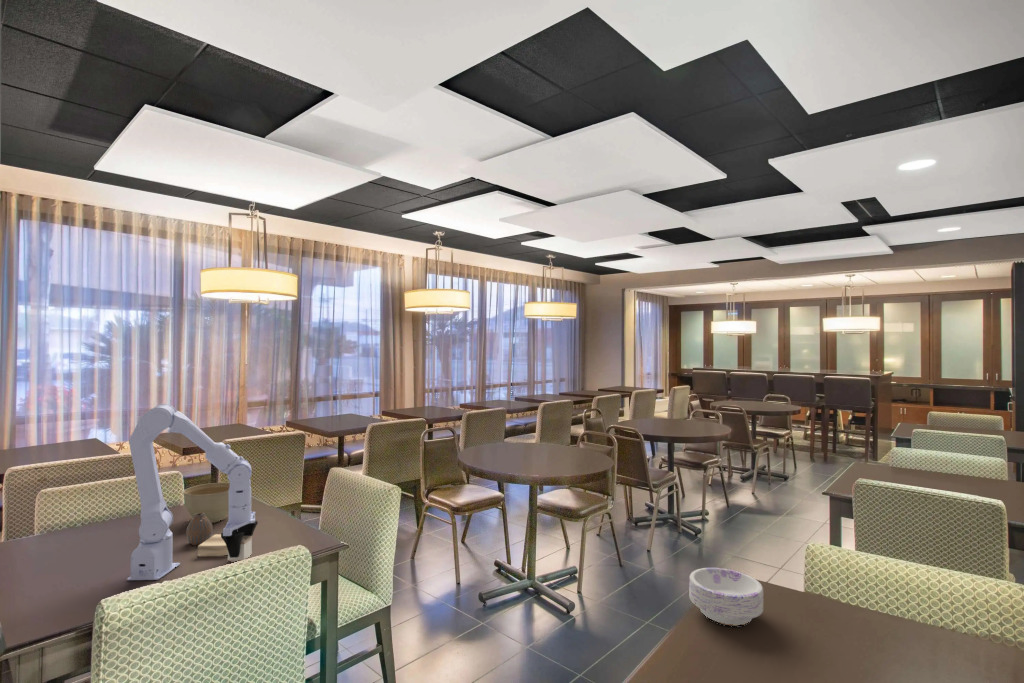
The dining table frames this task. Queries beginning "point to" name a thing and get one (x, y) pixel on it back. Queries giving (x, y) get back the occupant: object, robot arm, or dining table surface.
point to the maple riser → (213, 547)
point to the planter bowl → (208, 500)
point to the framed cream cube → (243, 549)
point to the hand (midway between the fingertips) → (239, 552)
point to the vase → (199, 529)
